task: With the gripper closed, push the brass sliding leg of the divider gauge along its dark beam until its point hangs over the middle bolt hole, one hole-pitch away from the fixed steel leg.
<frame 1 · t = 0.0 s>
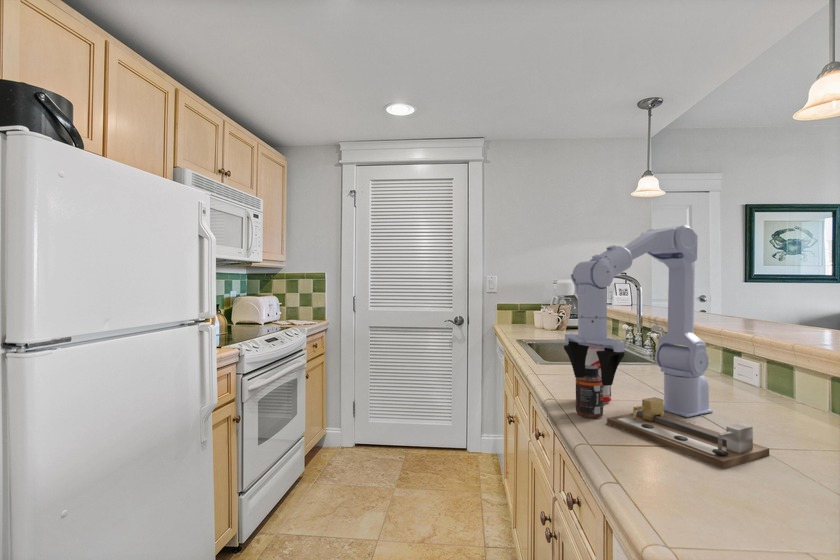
hand: (592, 380, 88), 10 cm above the worktop, tool pointing down, fingers open, 7 cm apart
supplement bottle: (589, 415, 97), on the worktop
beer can: (598, 402, 107), on the worktop
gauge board: (679, 437, 82), on the worktop
sliding leg: (646, 410, 89), point 4 cm above the worktop, slide at 0.0 cm
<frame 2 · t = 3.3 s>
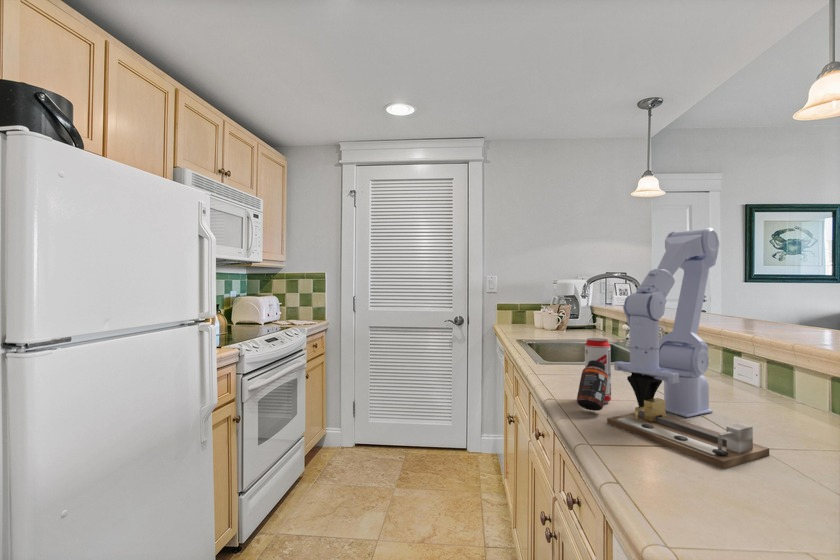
hand: (644, 408, 91), 3 cm above the worktop, tool pointing down, fingers closed
supplement bottle: (589, 406, 97), point 2 cm above the worktop, touching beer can
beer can: (598, 401, 107), on the worktop, touching supplement bottle
sliding leg: (648, 410, 88), point 4 cm above the worktop, slide at 0.4 cm, touching gripper
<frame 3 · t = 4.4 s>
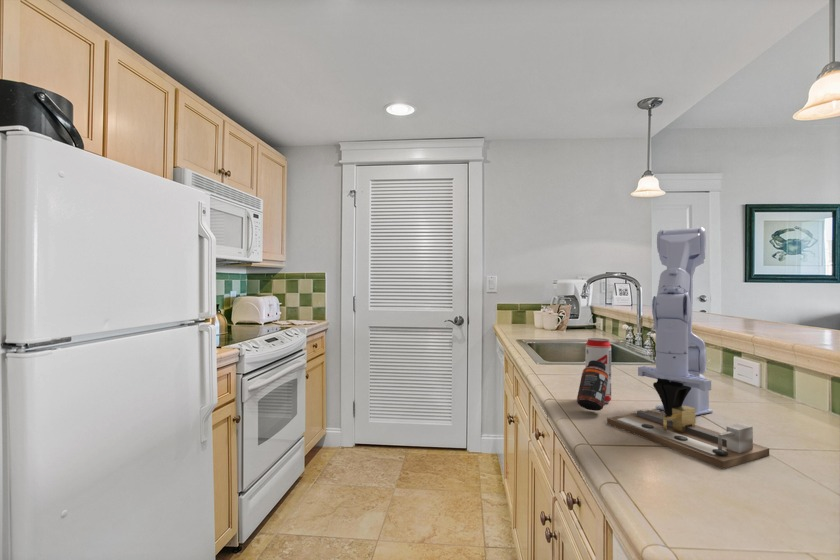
hand: (672, 417, 85), 3 cm above the worktop, tool pointing down, fingers closed
sliding leg: (677, 419, 82), point 4 cm above the worktop, slide at 6.8 cm, touching gripper
everything else where it was.
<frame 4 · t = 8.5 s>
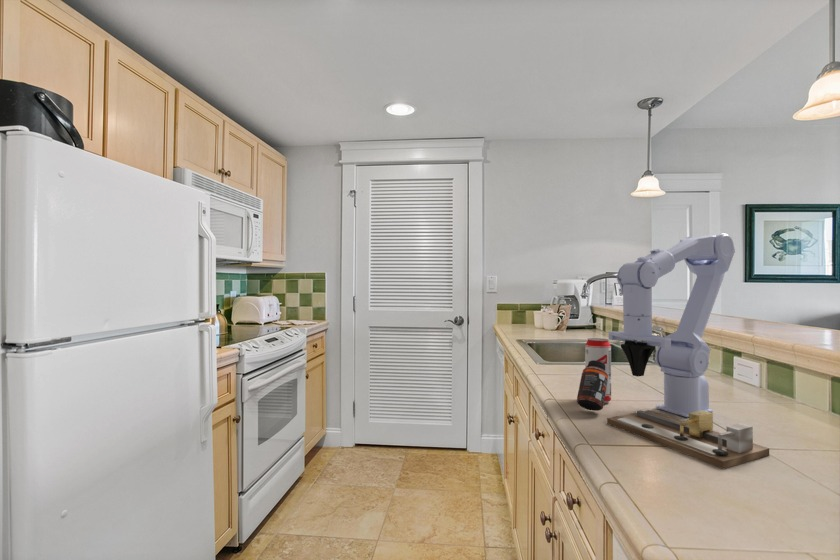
hand: (638, 375, 93), 10 cm above the worktop, tool pointing down, fingers closed
sliding leg: (694, 425, 79), point 4 cm above the worktop, slide at 10.2 cm
everything else where it was.
at the end: sliding leg slide at 10.2 cm; sliding leg 0.2 cm from the target spot, resting on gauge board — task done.
